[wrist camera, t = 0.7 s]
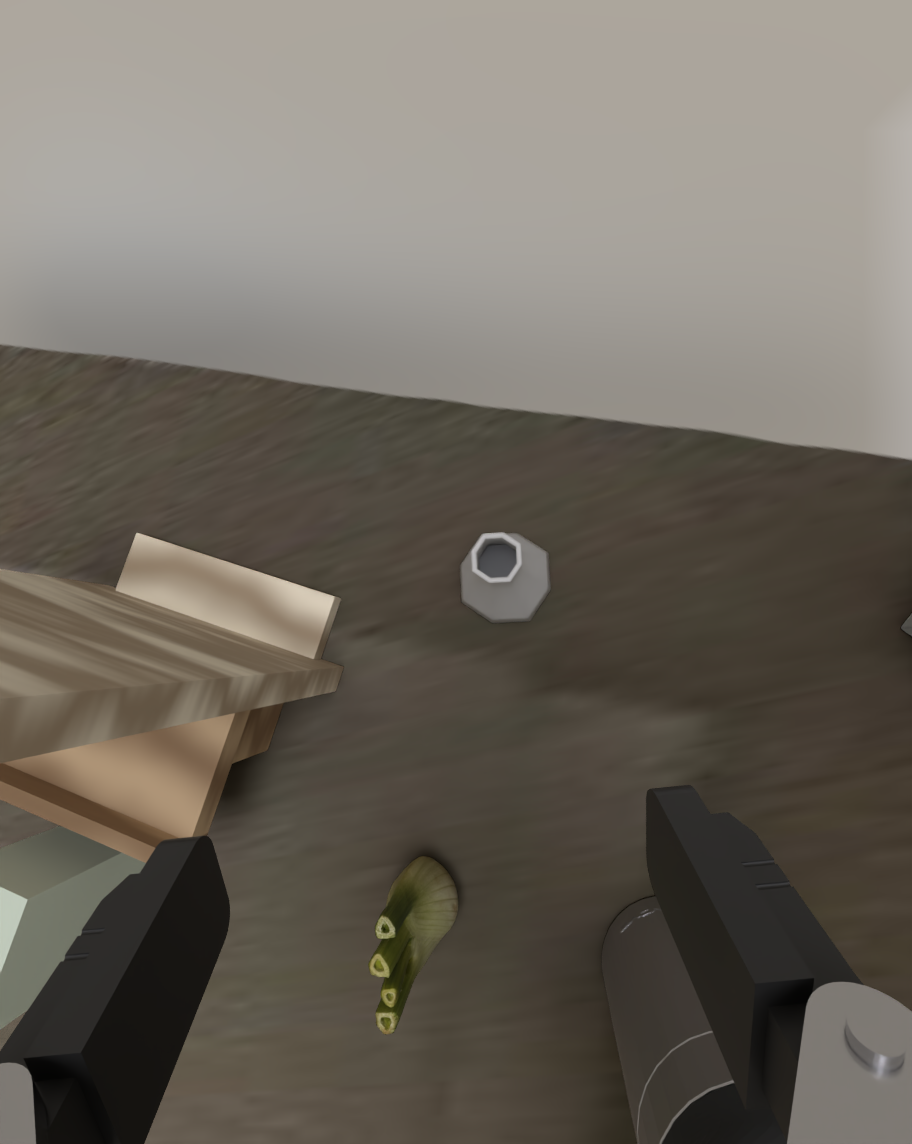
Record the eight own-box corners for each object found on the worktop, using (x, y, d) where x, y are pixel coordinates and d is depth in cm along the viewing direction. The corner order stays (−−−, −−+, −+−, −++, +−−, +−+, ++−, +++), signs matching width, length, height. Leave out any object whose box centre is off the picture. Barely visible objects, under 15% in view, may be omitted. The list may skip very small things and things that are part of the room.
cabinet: (146, 928, 44) (-30, 1055, 30) (92, 903, 45) (-103, 1015, 31) (183, 822, 45) (27, 899, 31) (129, 799, 46) (-46, 865, 32)
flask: (447, 610, 44) (422, 599, 34) (472, 522, 45) (455, 486, 35) (538, 636, 43) (539, 632, 33) (563, 544, 44) (571, 514, 34)
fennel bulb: (415, 836, 42) (369, 908, 31) (475, 868, 41) (452, 955, 30) (382, 910, 42) (323, 1012, 30) (442, 944, 41) (405, 1063, 29)
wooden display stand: (289, 830, 44) (-223, 1209, 14) (52, 734, 47) (-745, 875, 18) (364, 605, 45) (44, 525, 16) (128, 529, 49) (-488, 348, 19)
